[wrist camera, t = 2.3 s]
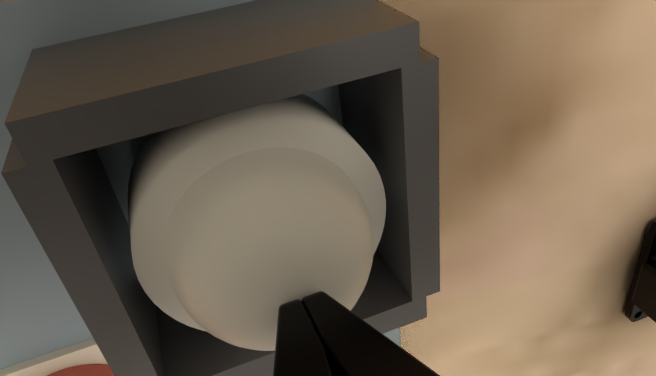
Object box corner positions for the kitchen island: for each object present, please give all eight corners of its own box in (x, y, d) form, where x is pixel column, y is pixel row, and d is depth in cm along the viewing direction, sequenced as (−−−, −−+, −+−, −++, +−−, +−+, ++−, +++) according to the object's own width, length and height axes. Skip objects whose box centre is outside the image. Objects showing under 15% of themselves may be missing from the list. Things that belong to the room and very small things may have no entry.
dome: (341, 56, 12) (437, 137, 9) (362, 242, 15) (439, 357, 12) (89, 120, 11) (82, 244, 7) (168, 308, 14) (189, 458, 11)
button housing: (356, -22, 13) (437, 17, 10) (379, 229, 18) (440, 312, 14) (11, 53, 11) (-24, 129, 8) (134, 310, 16) (142, 425, 13)
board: (353, -75, 14) (376, -69, 12) (400, 462, 28) (413, 489, 27) (-295, 51, 11) (-346, 76, 9) (133, 580, 25) (134, 615, 24)
